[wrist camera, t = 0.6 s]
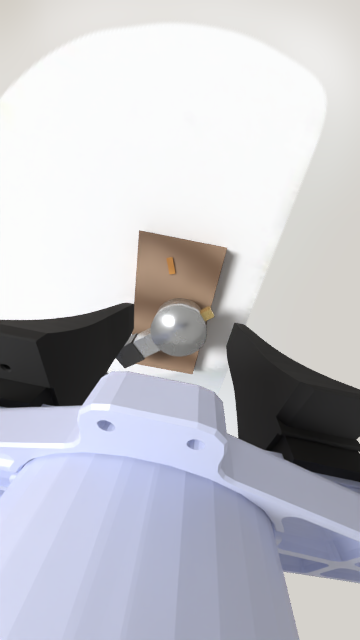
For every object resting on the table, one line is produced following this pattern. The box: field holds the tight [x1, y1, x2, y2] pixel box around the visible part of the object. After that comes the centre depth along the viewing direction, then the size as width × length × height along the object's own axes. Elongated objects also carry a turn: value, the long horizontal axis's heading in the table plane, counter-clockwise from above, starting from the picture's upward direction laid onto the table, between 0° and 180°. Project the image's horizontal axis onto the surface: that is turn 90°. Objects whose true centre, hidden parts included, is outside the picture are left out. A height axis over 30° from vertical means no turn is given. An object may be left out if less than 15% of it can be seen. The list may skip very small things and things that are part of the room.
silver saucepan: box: [116, 298, 214, 368], centre depth 20 cm, size 13×6×3 cm, turn 120°
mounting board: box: [132, 230, 227, 374], centre depth 22 cm, size 10×18×2 cm, turn 170°
